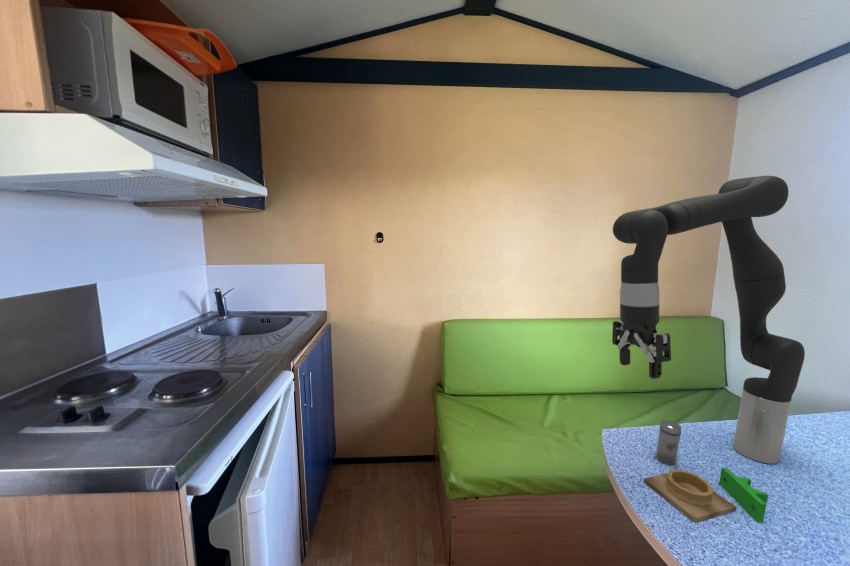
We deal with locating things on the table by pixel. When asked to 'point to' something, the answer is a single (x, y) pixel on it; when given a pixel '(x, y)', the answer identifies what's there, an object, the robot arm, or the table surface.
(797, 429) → the table surface
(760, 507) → the green bracket
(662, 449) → the grey lidded jar
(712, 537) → the table surface
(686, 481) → the ring seat
